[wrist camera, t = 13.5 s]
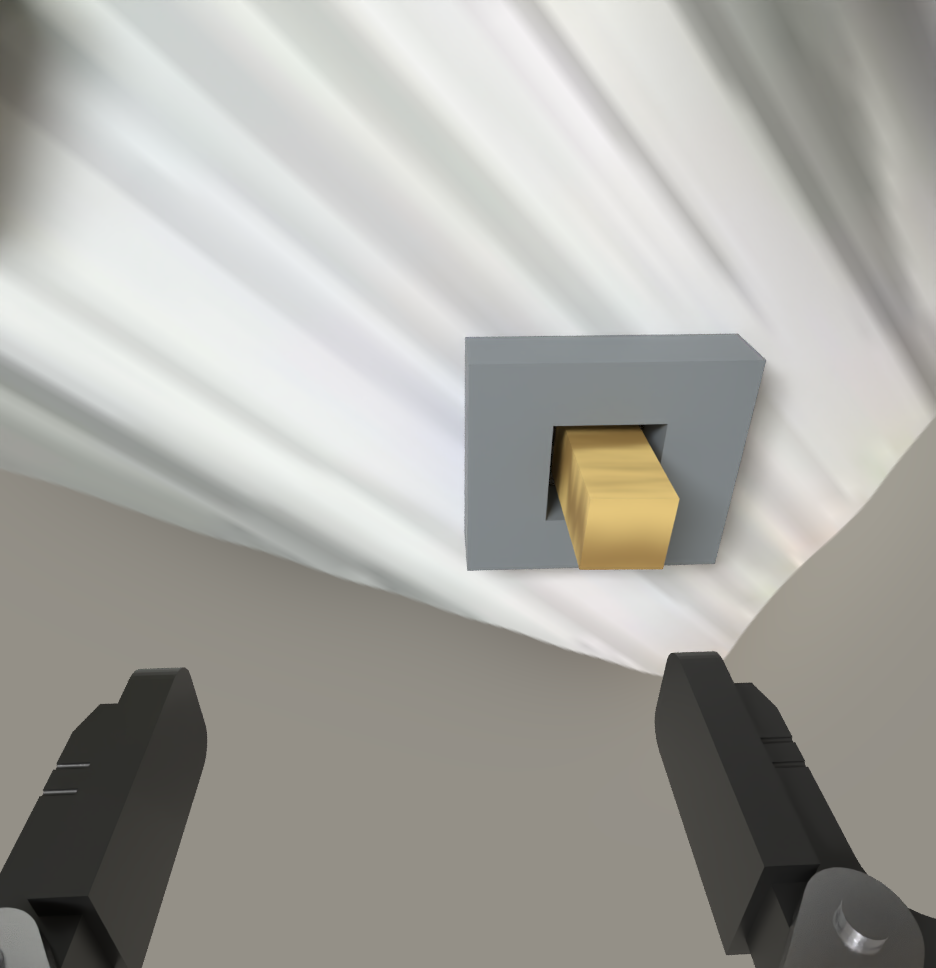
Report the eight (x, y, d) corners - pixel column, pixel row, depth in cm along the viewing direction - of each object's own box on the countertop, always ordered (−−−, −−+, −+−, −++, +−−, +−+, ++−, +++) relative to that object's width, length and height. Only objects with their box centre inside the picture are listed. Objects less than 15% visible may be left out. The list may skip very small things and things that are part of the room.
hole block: (465, 337, 40) (468, 364, 37) (737, 333, 41) (766, 360, 37) (464, 532, 47) (467, 570, 44) (694, 527, 48) (714, 563, 45)
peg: (558, 408, 43) (590, 498, 34) (630, 409, 43) (679, 499, 35) (551, 471, 45) (579, 569, 37) (619, 471, 45) (663, 569, 37)
